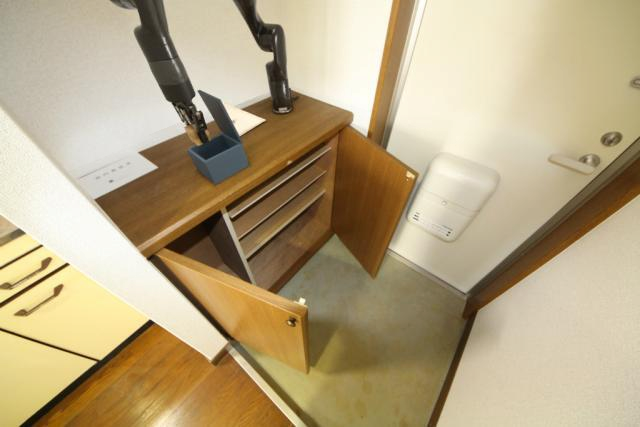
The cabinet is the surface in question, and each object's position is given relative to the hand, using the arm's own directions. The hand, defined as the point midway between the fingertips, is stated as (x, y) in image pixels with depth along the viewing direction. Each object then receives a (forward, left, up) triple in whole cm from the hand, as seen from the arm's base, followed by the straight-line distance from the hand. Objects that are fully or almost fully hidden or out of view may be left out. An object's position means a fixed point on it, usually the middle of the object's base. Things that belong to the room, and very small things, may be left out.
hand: (201, 139), depth 69 cm
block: (0, 0, 0) cm, 0 cm away
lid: (-8, 0, +4) cm, 9 cm away
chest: (-3, 0, -13) cm, 13 cm away
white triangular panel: (-25, -19, -13) cm, 34 cm away
